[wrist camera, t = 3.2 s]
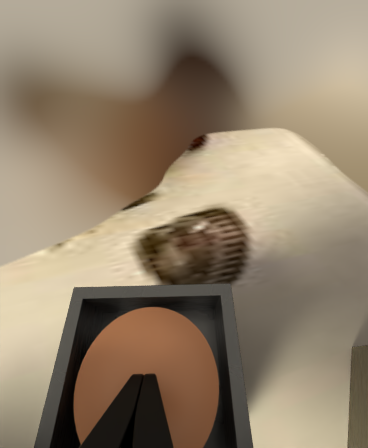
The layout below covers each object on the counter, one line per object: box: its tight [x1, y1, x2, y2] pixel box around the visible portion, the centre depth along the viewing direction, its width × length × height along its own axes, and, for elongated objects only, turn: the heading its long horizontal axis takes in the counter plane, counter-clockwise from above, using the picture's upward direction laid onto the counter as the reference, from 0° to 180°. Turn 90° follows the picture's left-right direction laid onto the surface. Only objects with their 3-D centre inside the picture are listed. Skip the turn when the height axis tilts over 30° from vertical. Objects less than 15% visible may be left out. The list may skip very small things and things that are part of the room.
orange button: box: [74, 307, 219, 448], centre depth 9 cm, size 5×5×2 cm
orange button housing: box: [34, 284, 253, 448], centre depth 11 cm, size 7×7×8 cm
